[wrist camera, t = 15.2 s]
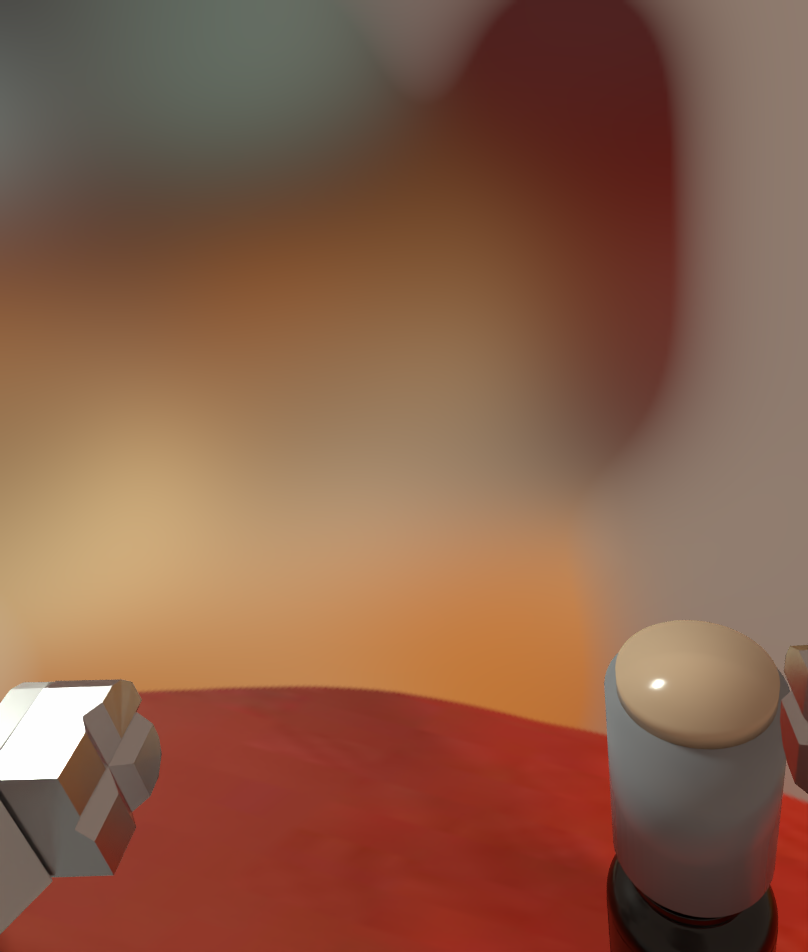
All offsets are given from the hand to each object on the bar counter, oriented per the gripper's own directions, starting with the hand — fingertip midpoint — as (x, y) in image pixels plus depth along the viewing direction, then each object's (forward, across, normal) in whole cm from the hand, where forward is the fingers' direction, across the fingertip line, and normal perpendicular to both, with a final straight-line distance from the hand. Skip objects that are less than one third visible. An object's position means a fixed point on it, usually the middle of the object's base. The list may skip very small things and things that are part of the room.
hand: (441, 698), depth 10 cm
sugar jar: (+13, -6, +22) cm, 26 cm away
